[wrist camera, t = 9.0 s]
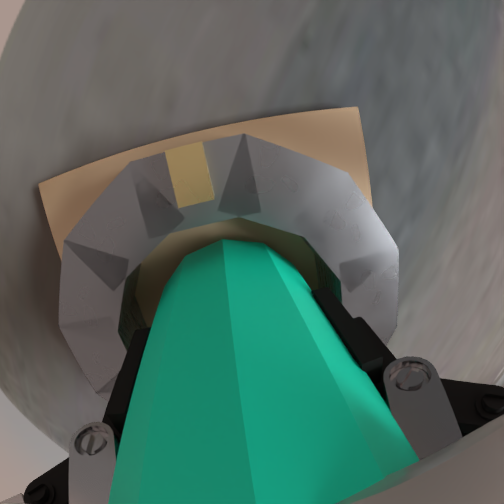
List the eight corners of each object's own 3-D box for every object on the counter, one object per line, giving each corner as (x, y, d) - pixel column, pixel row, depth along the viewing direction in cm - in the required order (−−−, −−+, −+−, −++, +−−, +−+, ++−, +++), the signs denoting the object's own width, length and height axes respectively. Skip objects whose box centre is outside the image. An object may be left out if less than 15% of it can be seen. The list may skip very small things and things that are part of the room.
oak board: (368, 359, 17) (375, 369, 16) (144, 410, 16) (142, 421, 15) (348, 109, 12) (357, 106, 11) (48, 181, 12) (38, 183, 11)
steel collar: (366, 365, 16) (396, 410, 12) (147, 415, 15) (139, 466, 11) (348, 121, 11) (397, 113, 8) (51, 192, 11) (0, 210, 7)
